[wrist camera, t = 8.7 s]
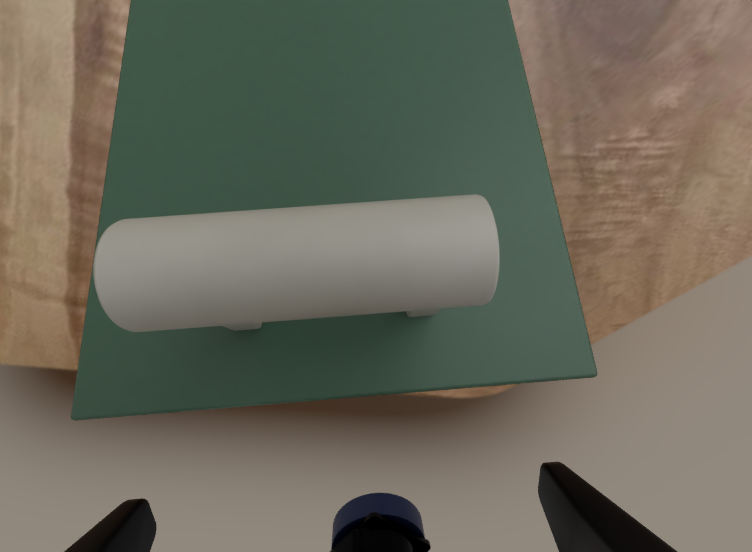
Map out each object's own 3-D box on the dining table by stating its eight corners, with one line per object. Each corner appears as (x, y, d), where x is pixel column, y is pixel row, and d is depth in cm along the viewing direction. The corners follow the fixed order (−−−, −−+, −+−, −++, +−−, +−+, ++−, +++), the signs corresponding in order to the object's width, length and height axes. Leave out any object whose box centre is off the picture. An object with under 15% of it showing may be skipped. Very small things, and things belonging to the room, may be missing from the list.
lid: (583, 377, 9) (822, 371, 4) (91, 418, 8) (-257, 462, 4) (496, -2, 12) (572, -243, 7) (143, 18, 12) (-8, -219, 7)
